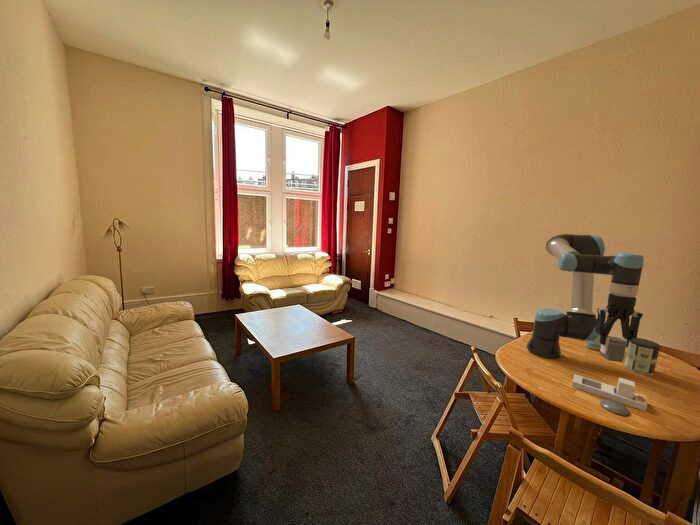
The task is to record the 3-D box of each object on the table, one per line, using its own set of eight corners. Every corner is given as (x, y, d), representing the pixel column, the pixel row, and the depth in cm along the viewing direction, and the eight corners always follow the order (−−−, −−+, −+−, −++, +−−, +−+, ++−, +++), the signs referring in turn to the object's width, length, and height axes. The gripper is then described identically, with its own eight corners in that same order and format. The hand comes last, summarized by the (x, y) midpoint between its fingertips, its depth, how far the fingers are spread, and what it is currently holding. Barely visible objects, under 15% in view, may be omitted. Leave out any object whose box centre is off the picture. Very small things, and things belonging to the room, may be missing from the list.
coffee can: (642, 365, 140) (648, 338, 138) (660, 376, 130) (667, 348, 128) (618, 362, 142) (623, 336, 140) (634, 373, 132) (640, 345, 130)
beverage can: (584, 344, 162) (588, 324, 160) (600, 347, 158) (604, 327, 156) (585, 348, 157) (589, 328, 155) (602, 352, 153) (606, 331, 151)
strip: (572, 386, 120) (573, 380, 119) (573, 377, 127) (574, 371, 126) (645, 411, 106) (647, 404, 105) (643, 399, 113) (644, 392, 112)
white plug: (616, 395, 112) (619, 382, 111) (616, 390, 115) (619, 377, 114) (632, 400, 109) (635, 386, 108) (631, 395, 112) (634, 381, 111)
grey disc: (600, 408, 107) (600, 406, 106) (600, 398, 113) (600, 396, 112) (629, 418, 101) (629, 416, 101) (627, 407, 107) (628, 406, 107)
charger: (599, 354, 112) (602, 335, 111) (613, 356, 111) (617, 337, 110) (607, 360, 107) (611, 340, 106) (622, 362, 106) (626, 342, 105)
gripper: (601, 294, 104) (591, 354, 107) (660, 299, 100) (647, 361, 103) (588, 290, 111) (579, 346, 114) (643, 294, 107) (632, 352, 110)
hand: (611, 353), depth 109 cm, fingers closed on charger, 5 cm apart
